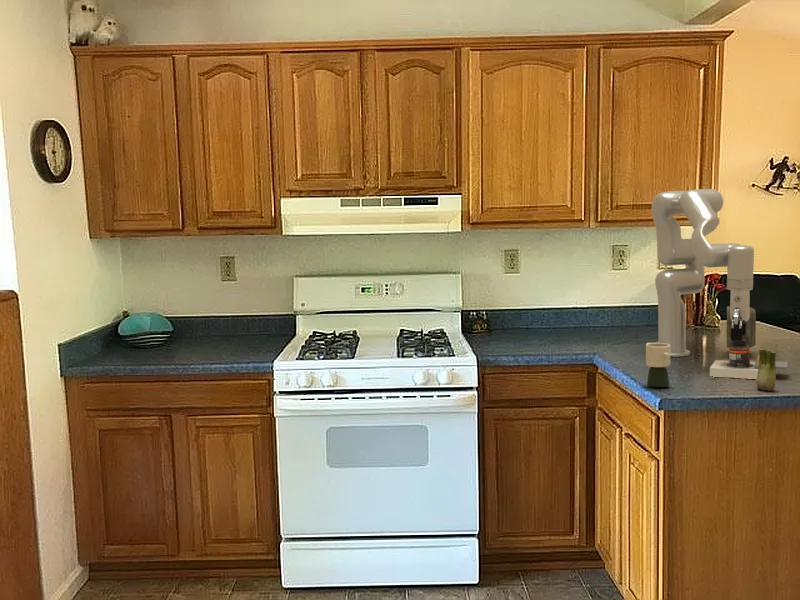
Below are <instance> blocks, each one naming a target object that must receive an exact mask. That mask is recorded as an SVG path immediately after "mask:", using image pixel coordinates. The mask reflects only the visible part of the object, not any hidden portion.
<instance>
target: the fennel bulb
mask: <svg viewBox="0 0 800 600" xmlns="http://www.w3.org/2000/svg"><path fill="white" fill-rule="evenodd" d="M776 353H777V352H775V351H772V350H769V349H768V350H767V349H762V348H761V349H758V355H759V369H758V375H757V380H756V387H757V388H758V389H759V390H760V391H761V390H762V391H765V390H768V391H774V390H775V387H776V379H777V376H776V375H777V374H776V373H777V369H776V366H775V361H776V358H777V357H776V355H777V354H776Z"/></svg>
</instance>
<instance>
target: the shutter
mask: <svg viewBox="0 0 800 600" xmlns="http://www.w3.org/2000/svg"><path fill="white" fill-rule="evenodd" d="M755 362H756V363H755V365H754V368H759V354H758V355H757V360H756V361H755ZM775 366H776V370H784V371H785V370H786V371H787V370H788V366H789V361H780V360H779V361H777V360H775Z"/></svg>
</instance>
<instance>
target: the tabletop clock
mask: <svg viewBox="0 0 800 600" xmlns="http://www.w3.org/2000/svg"><path fill="white" fill-rule="evenodd" d="M756 314H757V313H756V310H755V308H753V307H751V306H750V317H749V319H748V320H747V321H746V322H745V323H746V332H745V335H742V339H745V340H746V345H747V346H748V347H749V349H750V348H753V347H755V346H756V344H757V343H756V342H757V341H756V338H757V336H756V334H757V333H756V331H757V329H756V328H757V326H756V324H757V321H756V319H757V316H756ZM731 328H732V320H731V319H730V305H729V306H728V305H727V306H726V347H727V348H730V347H731V346H732V345H733V343H732V340H731Z"/></svg>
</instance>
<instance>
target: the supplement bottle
mask: <svg viewBox="0 0 800 600" xmlns="http://www.w3.org/2000/svg"><path fill="white" fill-rule="evenodd" d="M732 343H733V345H732V346H731V347H730V348H729V347H728V348H729V350H728V351H729V352H728V353H729V354H728V356H729V360H728V361H729V367H735V368H750V362H751V361H750V359H751V358H750V357H751V356H750V353H751V352H750V348H749V347H748V346H747V345H746V340H745V339H742V341H732Z"/></svg>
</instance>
